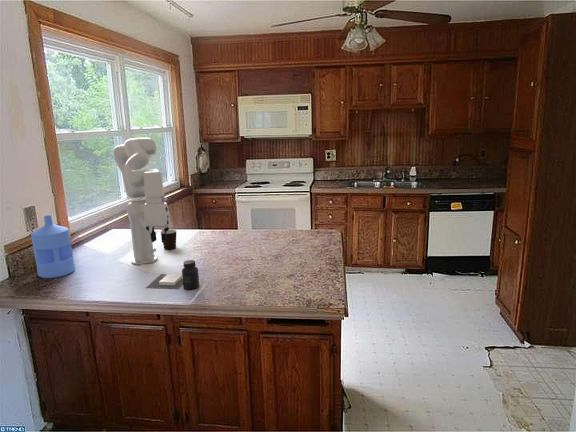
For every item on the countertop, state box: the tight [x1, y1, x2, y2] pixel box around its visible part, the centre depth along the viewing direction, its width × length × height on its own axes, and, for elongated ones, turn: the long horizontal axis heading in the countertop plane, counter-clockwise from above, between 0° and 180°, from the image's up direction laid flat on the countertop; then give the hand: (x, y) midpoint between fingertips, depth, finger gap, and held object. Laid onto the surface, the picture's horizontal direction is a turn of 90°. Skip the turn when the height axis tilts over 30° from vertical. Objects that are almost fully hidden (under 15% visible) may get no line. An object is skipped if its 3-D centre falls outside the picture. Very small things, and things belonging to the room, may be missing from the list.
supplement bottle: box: [181, 259, 200, 291], centre depth 168 cm, size 7×7×12 cm
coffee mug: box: [160, 228, 177, 251], centre depth 224 cm, size 12×9×10 cm
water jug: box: [30, 215, 76, 279], centre depth 187 cm, size 16×16×28 cm
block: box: [159, 273, 182, 286], centre depth 175 cm, size 9×2×7 cm
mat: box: [145, 273, 183, 290], centre depth 176 cm, size 16×15×1 cm
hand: (159, 241), depth 172 cm, fingers open, 3 cm apart
